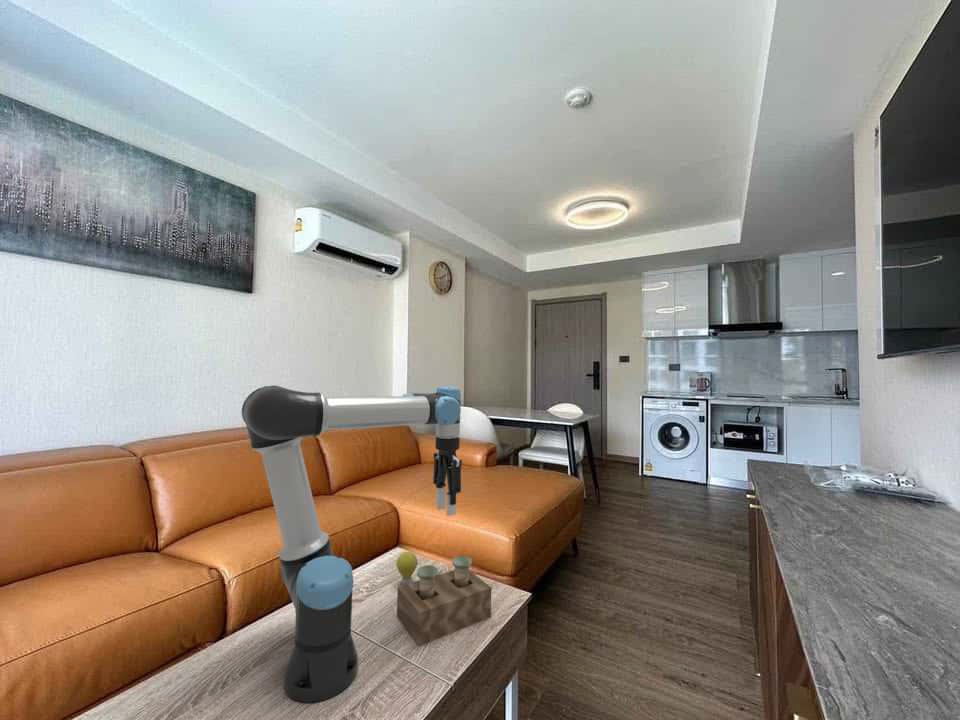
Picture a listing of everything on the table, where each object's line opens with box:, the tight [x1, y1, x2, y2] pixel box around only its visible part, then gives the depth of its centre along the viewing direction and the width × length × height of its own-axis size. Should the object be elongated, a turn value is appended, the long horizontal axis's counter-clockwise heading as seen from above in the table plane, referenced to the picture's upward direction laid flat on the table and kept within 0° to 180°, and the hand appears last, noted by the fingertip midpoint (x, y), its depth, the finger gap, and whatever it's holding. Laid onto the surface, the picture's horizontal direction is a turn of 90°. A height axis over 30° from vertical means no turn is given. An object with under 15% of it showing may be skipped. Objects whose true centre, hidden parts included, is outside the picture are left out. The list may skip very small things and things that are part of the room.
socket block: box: [396, 569, 492, 647], centre depth 109 cm, size 22×14×8 cm, turn 124°
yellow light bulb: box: [395, 551, 419, 586], centre depth 125 cm, size 7×7×10 cm
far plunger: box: [451, 555, 473, 588], centre depth 112 cm, size 6×6×8 cm
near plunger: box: [416, 564, 439, 600], centre depth 106 cm, size 6×6×8 cm
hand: (445, 511), depth 121 cm, fingers open, 6 cm apart
